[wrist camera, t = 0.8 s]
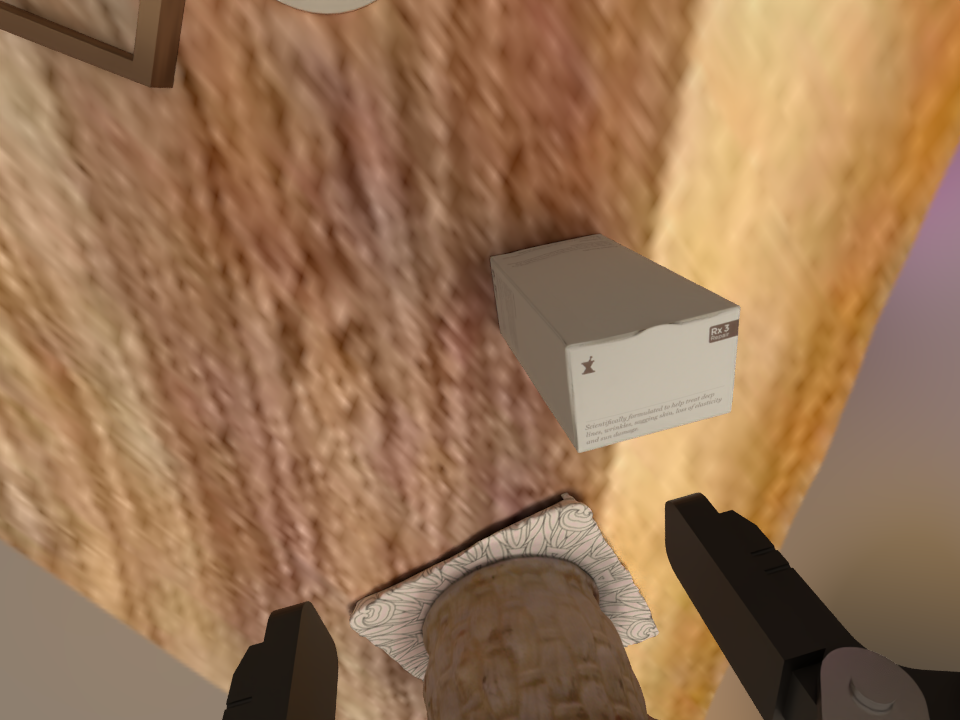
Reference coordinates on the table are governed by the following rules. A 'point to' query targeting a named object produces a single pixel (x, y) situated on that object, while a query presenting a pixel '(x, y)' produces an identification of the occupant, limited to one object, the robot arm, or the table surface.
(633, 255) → the skincare box
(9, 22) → the wooden frame
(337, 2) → the coaster
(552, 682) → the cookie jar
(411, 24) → the table surface
